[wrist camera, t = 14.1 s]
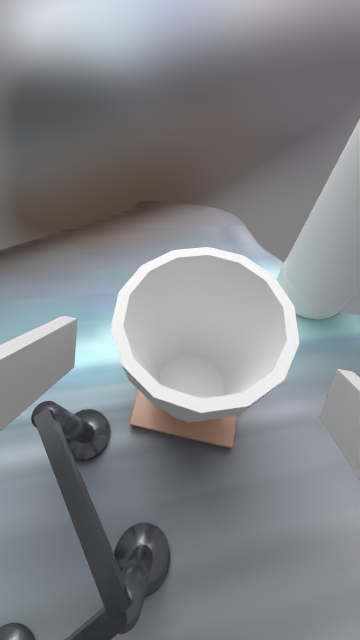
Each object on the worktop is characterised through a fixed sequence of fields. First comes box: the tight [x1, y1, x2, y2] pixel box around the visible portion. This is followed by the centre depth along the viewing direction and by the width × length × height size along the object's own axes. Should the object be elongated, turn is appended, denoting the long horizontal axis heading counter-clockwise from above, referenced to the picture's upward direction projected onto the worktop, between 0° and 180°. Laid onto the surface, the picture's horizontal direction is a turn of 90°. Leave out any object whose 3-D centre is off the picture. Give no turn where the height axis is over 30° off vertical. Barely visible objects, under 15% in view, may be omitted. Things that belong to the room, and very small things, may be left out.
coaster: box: [129, 391, 236, 449], centre depth 26 cm, size 9×9×1 cm
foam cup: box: [111, 247, 299, 423], centre depth 20 cm, size 10×9×13 cm
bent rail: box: [0, 401, 170, 640], centre depth 16 cm, size 11×18×10 cm, turn 168°
